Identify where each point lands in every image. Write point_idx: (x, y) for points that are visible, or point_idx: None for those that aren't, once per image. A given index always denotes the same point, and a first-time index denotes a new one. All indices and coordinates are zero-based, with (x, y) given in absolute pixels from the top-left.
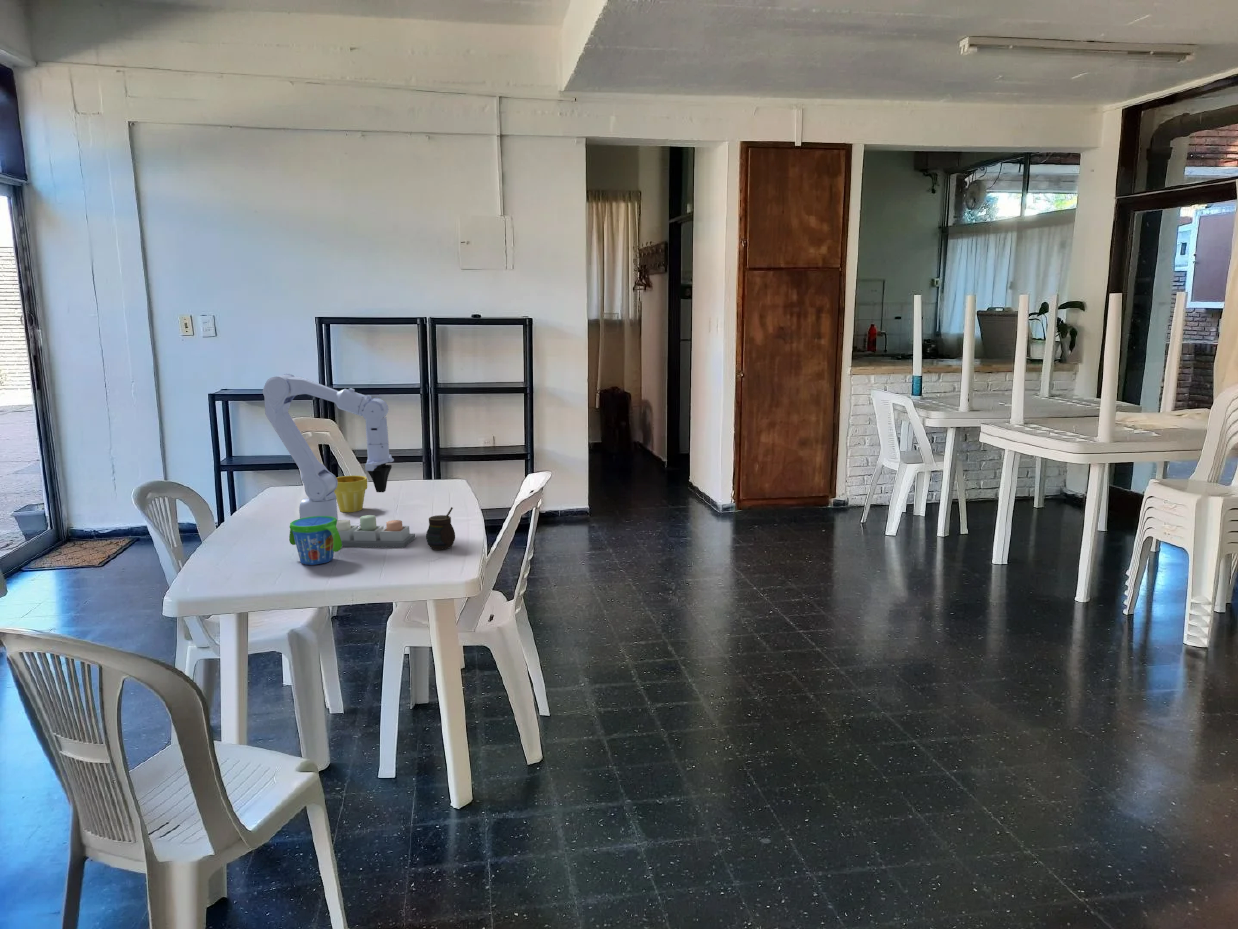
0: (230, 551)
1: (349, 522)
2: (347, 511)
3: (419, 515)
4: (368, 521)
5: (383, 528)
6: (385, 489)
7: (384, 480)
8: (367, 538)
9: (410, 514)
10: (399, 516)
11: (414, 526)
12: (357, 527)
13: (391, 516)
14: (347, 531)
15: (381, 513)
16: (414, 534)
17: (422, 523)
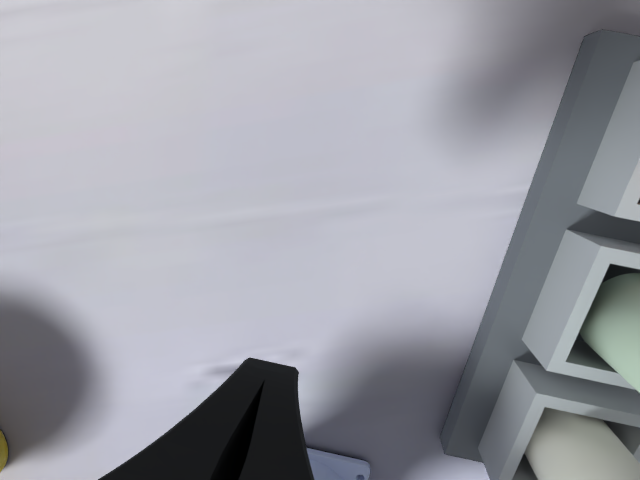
0: None
1: (620, 453)
2: (4, 451)
3: (33, 99)
4: None
5: (591, 241)
6: (252, 367)
7: (300, 472)
8: None
9: (15, 157)
10: (62, 212)
11: (288, 89)
12: (536, 387)
13: (64, 253)
14: None
15: (8, 309)
16: (616, 32)
17: (221, 48)
